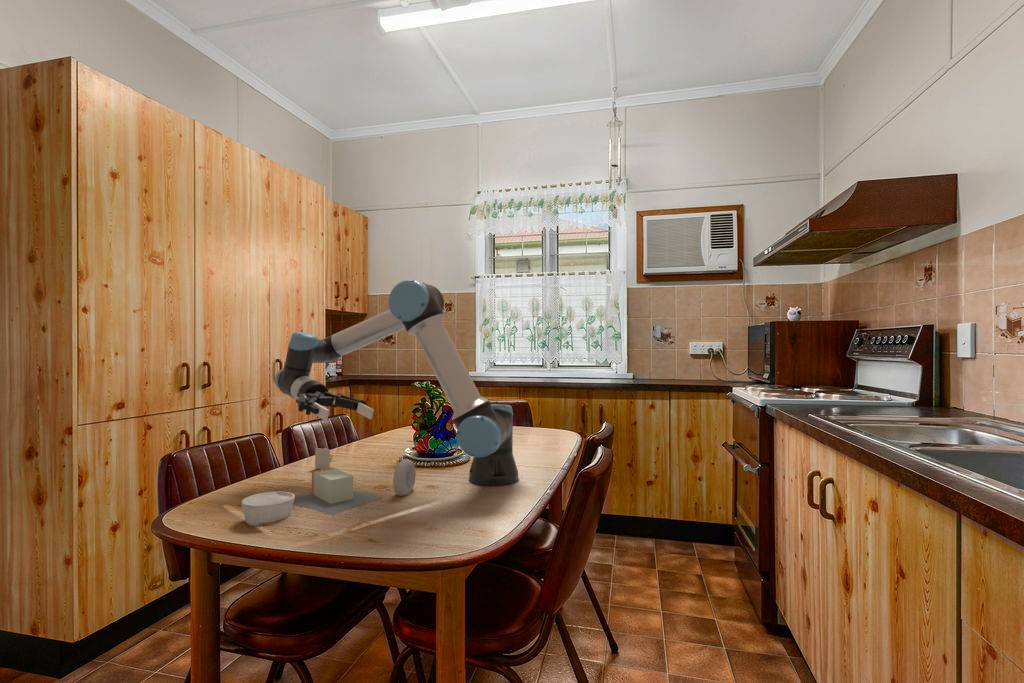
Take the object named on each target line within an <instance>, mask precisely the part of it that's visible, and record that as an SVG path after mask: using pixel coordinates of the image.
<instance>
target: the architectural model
mask: <svg viewBox="0 0 1024 683" xmlns="http://www.w3.org/2000/svg"><path fill="white" fill-rule="evenodd" d="M314 450H315V451H314V452H315V453H314V454H315V455H314V457H315V458H314V469H328V468H331V462H332V463H334V462H337V461H339V460H340V458H335V457H334V458H333V457H332V455H331V449H329V448H328V447H325V448H320V447H319V448H318V447H317V448H316V447H315V449H314Z"/></svg>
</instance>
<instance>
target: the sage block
mask: <svg viewBox="0 0 1024 683" xmlns="http://www.w3.org/2000/svg"><path fill="white" fill-rule="evenodd" d="M353 490H354V476H353V475H352V474H349V473H347V472H345V471H342V470H340V469H338V468H335V467H330V468H328V469H322V470H313V471H311V492H312V494H313V495H315V496H317V497H319V498H321V499H322V500H324V501H326V502H328V503H330V504H333V503H337V502H342V501H346V500H350V499H353Z"/></svg>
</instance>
